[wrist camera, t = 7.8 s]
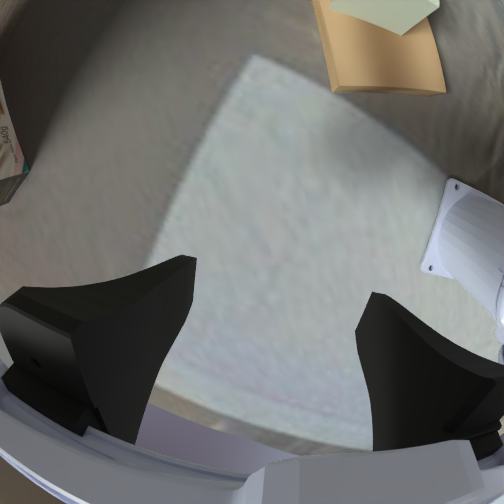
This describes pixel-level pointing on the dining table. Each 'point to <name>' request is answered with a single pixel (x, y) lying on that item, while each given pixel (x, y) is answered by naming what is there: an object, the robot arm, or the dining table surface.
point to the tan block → (378, 55)
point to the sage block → (387, 12)
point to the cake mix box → (9, 156)
